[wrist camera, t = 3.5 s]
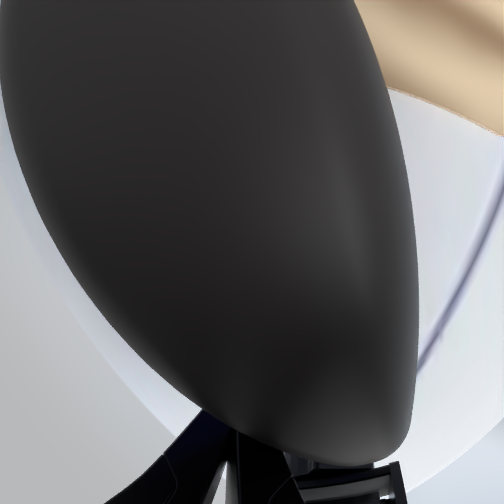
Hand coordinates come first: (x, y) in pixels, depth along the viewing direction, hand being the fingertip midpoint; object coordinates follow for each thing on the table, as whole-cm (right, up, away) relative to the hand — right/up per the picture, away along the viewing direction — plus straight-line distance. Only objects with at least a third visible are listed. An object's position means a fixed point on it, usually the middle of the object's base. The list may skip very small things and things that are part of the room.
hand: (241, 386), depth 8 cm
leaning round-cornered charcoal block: (+2, +9, +3) cm, 10 cm away
